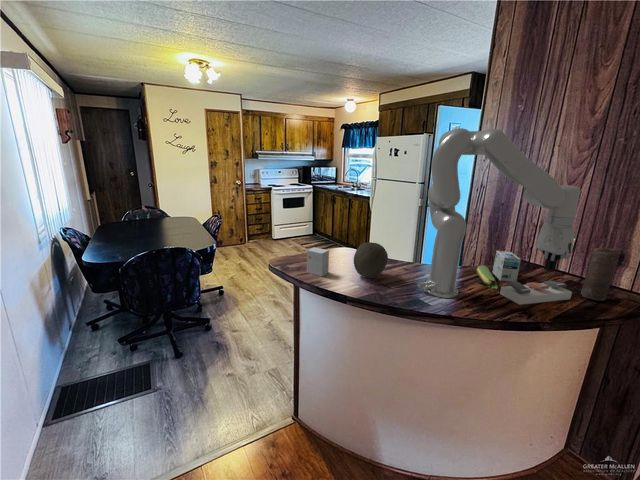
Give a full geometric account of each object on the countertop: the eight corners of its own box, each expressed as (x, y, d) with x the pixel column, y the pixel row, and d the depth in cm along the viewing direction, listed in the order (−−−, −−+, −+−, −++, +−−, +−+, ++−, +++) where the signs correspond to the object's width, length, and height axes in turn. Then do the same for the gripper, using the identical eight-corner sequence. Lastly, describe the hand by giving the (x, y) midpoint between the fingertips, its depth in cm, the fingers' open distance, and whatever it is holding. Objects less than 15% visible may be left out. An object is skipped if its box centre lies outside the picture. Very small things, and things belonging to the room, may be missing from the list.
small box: (328, 273, 135) (329, 250, 132) (321, 277, 131) (322, 253, 128) (313, 269, 139) (314, 246, 137) (306, 272, 135) (306, 249, 132)
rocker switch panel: (519, 304, 112) (521, 295, 111) (499, 293, 120) (501, 285, 119) (570, 299, 117) (572, 290, 116) (548, 289, 126) (550, 281, 125)
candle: (607, 305, 113) (623, 253, 108) (581, 300, 117) (596, 249, 112) (602, 297, 120) (617, 248, 114) (578, 293, 123) (591, 245, 118)
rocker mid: (540, 289, 114) (540, 286, 114) (526, 285, 120) (526, 282, 120) (548, 288, 115) (549, 285, 115) (534, 284, 121) (534, 282, 121)
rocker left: (521, 293, 112) (522, 291, 112) (508, 284, 118) (509, 282, 117) (529, 292, 113) (530, 290, 113) (516, 283, 119) (517, 281, 118)
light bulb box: (516, 282, 132) (522, 258, 129) (499, 281, 133) (504, 257, 130) (507, 273, 142) (512, 251, 139) (491, 272, 143) (495, 250, 140)
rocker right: (558, 287, 116) (558, 284, 116) (543, 284, 122) (543, 281, 122) (566, 286, 117) (566, 284, 117) (551, 283, 123) (551, 280, 123)
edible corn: (488, 265, 140) (478, 261, 140) (501, 283, 121) (490, 279, 122) (482, 274, 142) (472, 271, 142) (495, 294, 123) (484, 289, 124)
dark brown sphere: (383, 285, 124) (386, 250, 120) (349, 280, 128) (351, 245, 124) (387, 273, 137) (390, 241, 133) (356, 268, 141) (358, 237, 137)
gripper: (532, 217, 115) (523, 264, 119) (573, 226, 101) (561, 278, 105) (548, 216, 116) (538, 262, 121) (590, 225, 102) (578, 276, 107)
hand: (549, 269), depth 113 cm, fingers closed
